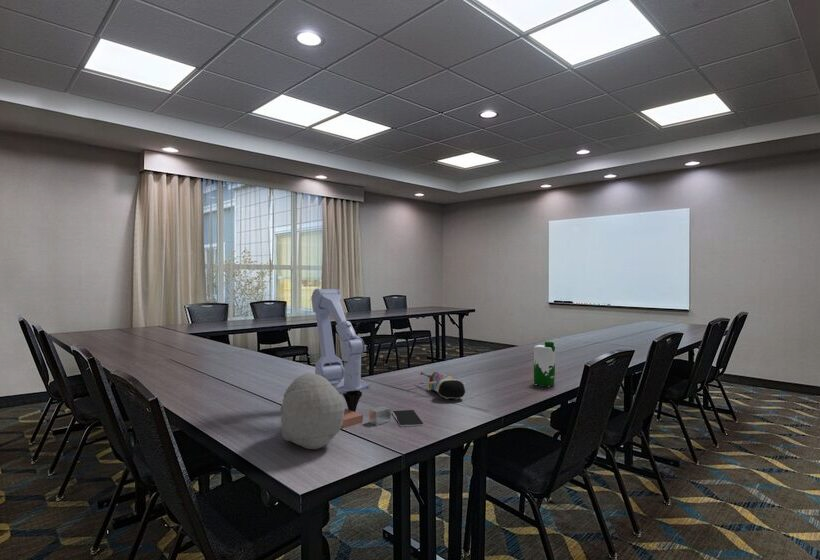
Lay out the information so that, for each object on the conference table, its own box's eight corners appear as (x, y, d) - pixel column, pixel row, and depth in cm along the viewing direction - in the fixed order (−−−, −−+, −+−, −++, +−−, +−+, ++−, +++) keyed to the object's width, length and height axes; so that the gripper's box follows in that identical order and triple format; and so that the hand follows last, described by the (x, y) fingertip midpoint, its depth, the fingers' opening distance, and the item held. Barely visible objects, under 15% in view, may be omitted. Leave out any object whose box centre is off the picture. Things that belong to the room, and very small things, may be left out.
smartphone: (400, 425, 141) (391, 410, 155) (400, 429, 141) (391, 414, 156) (424, 423, 143) (413, 409, 157) (424, 427, 143) (413, 412, 157)
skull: (322, 422, 144) (323, 362, 144) (351, 451, 120) (352, 379, 120) (269, 430, 136) (270, 366, 136) (289, 463, 112) (290, 385, 112)
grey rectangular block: (368, 422, 145) (369, 409, 145) (382, 418, 149) (382, 405, 149) (376, 425, 142) (376, 411, 142) (390, 421, 146) (390, 408, 146)
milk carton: (550, 388, 195) (551, 343, 195) (531, 385, 201) (531, 341, 201) (556, 384, 202) (557, 341, 202) (537, 381, 208) (538, 339, 208)
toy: (407, 387, 196) (428, 401, 167) (409, 367, 197) (430, 378, 168) (455, 388, 202) (483, 401, 174) (456, 368, 203) (484, 379, 174)
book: (318, 419, 149) (319, 410, 149) (338, 414, 155) (338, 405, 155) (342, 429, 139) (343, 420, 139) (362, 424, 145) (362, 415, 145)
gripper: (341, 378, 143) (341, 419, 143) (376, 372, 153) (375, 411, 153) (329, 374, 148) (329, 414, 148) (363, 369, 158) (363, 406, 158)
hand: (351, 412), depth 151 cm, fingers closed
